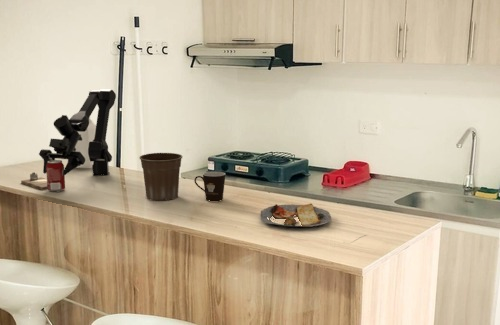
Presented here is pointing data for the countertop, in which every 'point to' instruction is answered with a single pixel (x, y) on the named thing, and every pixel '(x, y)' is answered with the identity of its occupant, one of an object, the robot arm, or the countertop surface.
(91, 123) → the milk
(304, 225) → the food plate
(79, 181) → the countertop surface
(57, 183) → the soda can
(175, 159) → the plant pot
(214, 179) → the coffee mug
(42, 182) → the carrier board
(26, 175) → the countertop surface
